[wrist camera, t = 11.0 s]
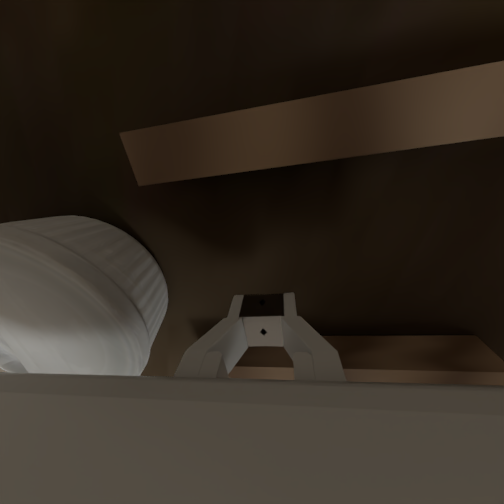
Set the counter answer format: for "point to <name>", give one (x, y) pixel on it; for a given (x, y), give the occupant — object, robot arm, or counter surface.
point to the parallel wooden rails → (336, 147)
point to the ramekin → (77, 298)
